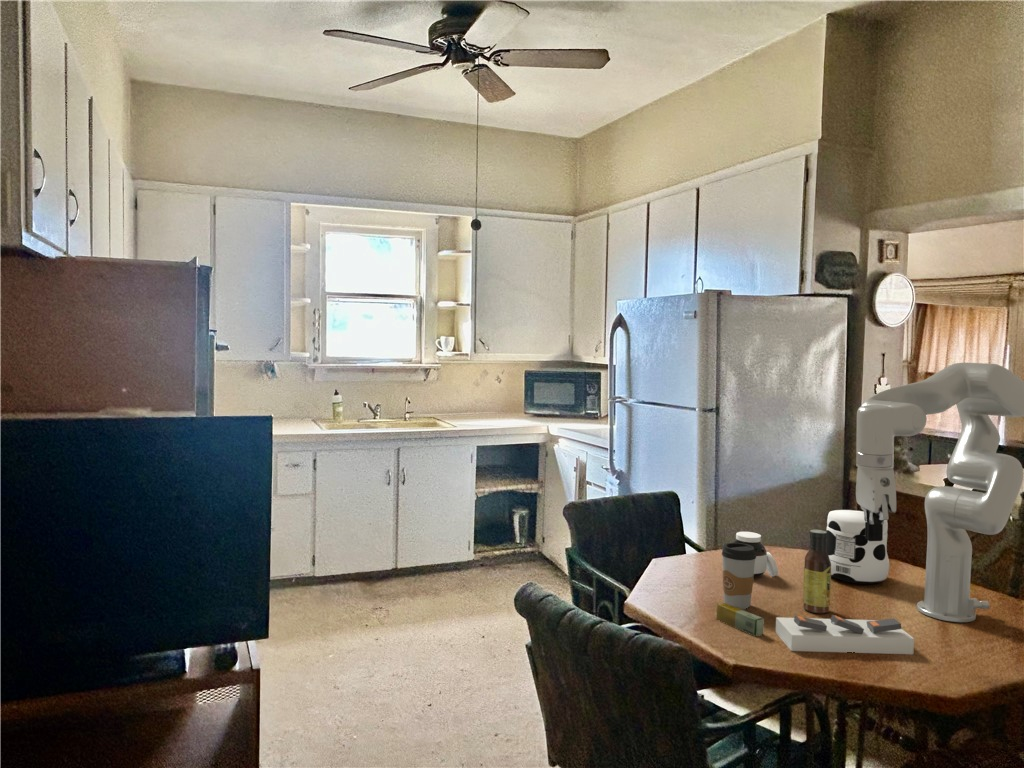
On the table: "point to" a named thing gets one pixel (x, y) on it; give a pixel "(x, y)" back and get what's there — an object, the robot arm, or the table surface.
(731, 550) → the coffee cup
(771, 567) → the spread jar
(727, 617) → the medication box
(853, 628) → the rocker middle
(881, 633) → the rocker switch panel
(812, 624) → the rocker
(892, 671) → the table surface
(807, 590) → the sauce bottle
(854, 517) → the milk container
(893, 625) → the rocker
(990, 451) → the robot arm
